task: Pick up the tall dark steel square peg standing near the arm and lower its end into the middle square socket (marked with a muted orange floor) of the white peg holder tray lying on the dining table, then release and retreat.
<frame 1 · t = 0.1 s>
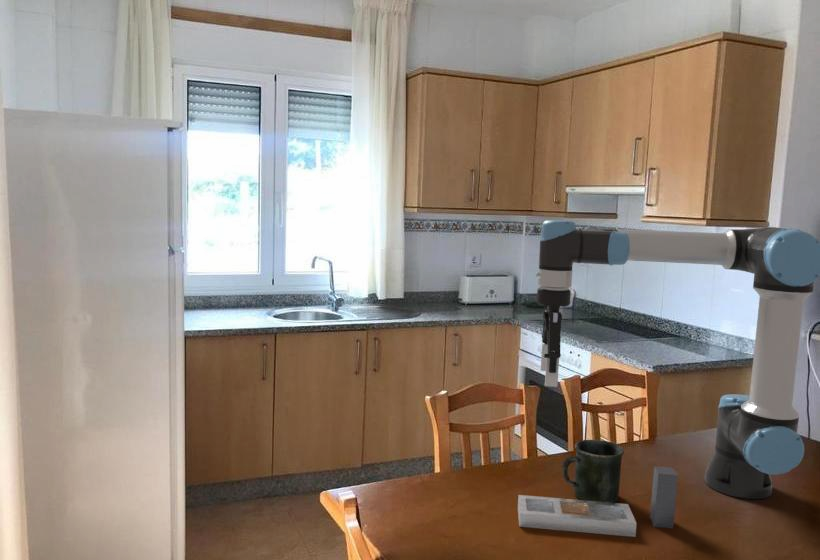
hand: (548, 378, 158), 28 cm above the table, fingers open, 13 cm apart
mug: (589, 497, 160), on the table
white peg holder tray: (574, 521, 148), on the table
steel peg: (661, 523, 148), on the table
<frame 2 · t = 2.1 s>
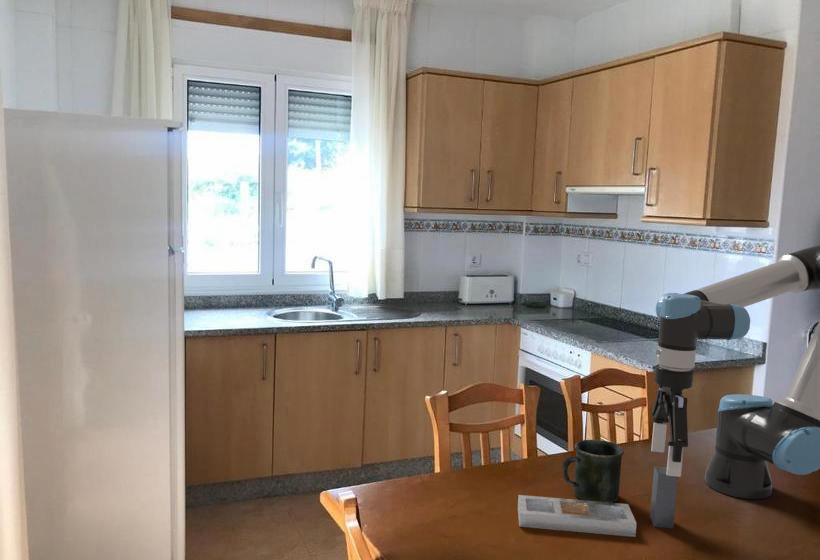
hand: (665, 463, 147), 14 cm above the table, fingers open, 13 cm apart
nothing on the table moved.
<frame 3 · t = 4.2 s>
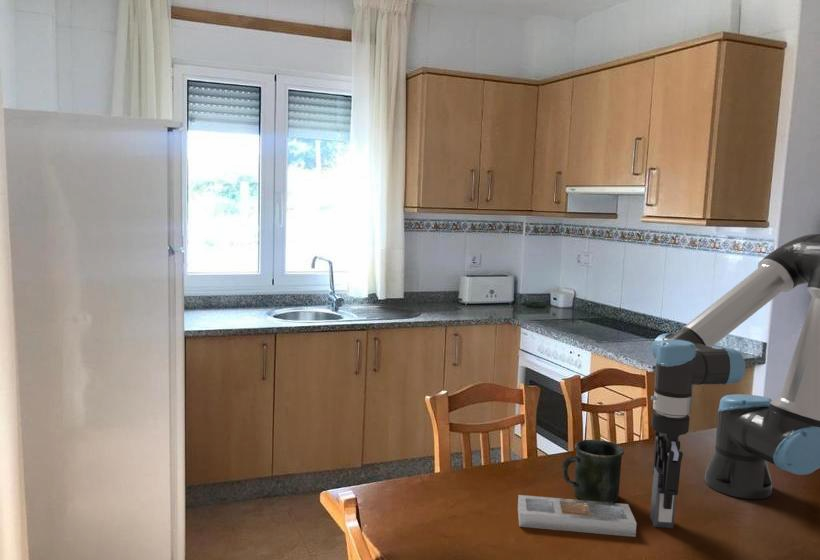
hand: (661, 515, 148), 2 cm above the table, fingers closed on steel peg, 4 cm apart
steel peg: (661, 523, 148), on the table, touching gripper
everything else where it was.
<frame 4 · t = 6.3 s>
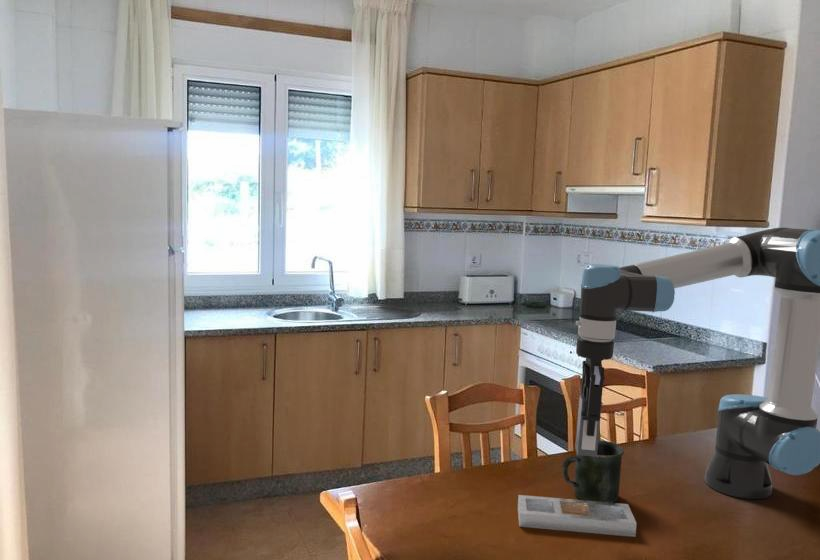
hand: (586, 445, 145), 17 cm above the table, fingers closed on steel peg, 4 cm apart
steel peg: (585, 452, 146), point 16 cm above the table, touching gripper
everything else where it was.
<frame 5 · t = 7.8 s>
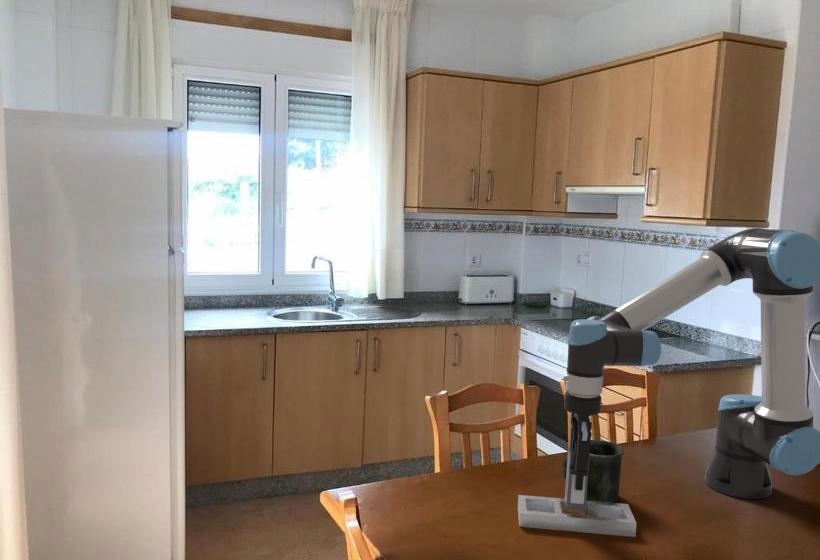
hand: (575, 497, 147), 5 cm above the table, fingers closed on steel peg, 4 cm apart
steel peg: (574, 504, 147), point 4 cm above the table, touching gripper
everything else where it was.
when the fingers open (4 cm above the table, at t = 8.7 s): steel peg drops 1 cm, resting on white peg holder tray.
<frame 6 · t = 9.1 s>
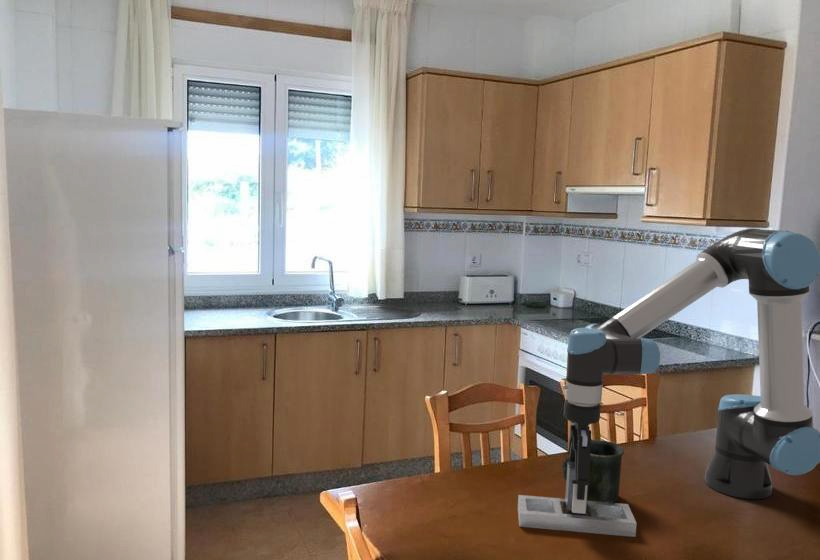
hand: (575, 501, 147), 5 cm above the table, fingers open, 9 cm apart
steel peg: (574, 519, 148), point 1 cm above the table, touching white peg holder tray
everything else where it was.
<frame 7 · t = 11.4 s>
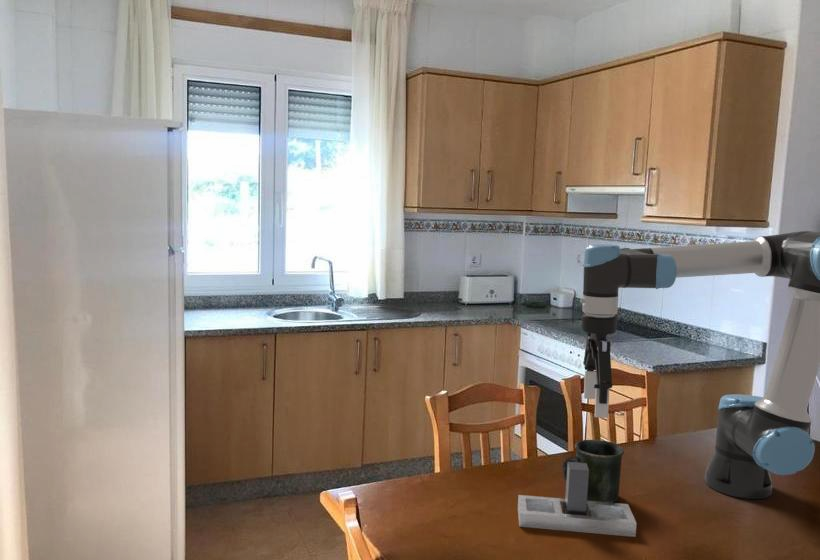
hand: (595, 407, 153), 23 cm above the table, fingers open, 13 cm apart
nothing on the table moved.
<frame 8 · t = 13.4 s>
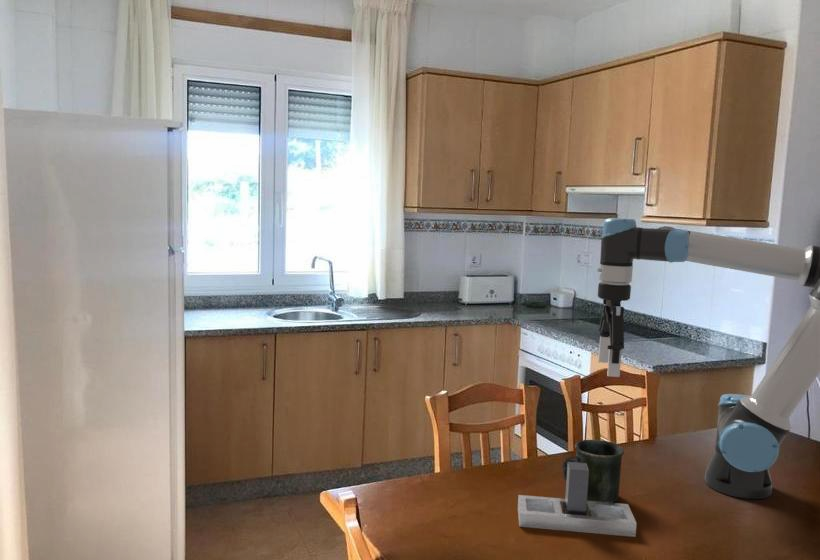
hand: (608, 369, 166), 29 cm above the table, fingers open, 13 cm apart
nothing on the table moved.
at the end: steel peg 0.0 cm off-centre on the white peg holder tray, point 0.6 cm above the white peg holder tray's base; steel peg tilted 0°; the gripper is holding nothing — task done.
